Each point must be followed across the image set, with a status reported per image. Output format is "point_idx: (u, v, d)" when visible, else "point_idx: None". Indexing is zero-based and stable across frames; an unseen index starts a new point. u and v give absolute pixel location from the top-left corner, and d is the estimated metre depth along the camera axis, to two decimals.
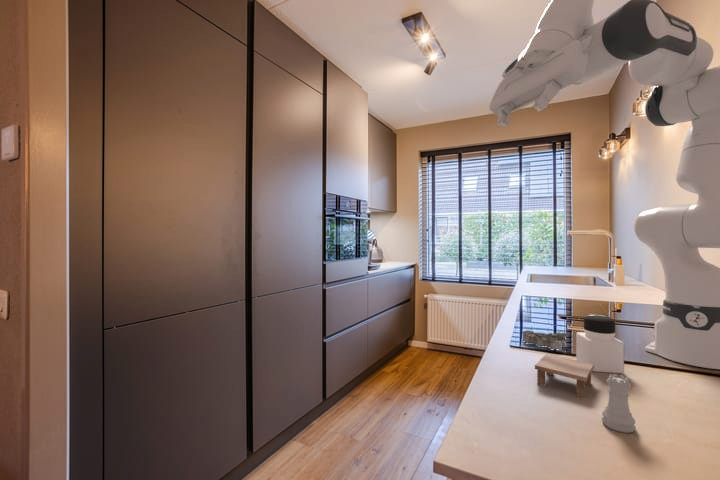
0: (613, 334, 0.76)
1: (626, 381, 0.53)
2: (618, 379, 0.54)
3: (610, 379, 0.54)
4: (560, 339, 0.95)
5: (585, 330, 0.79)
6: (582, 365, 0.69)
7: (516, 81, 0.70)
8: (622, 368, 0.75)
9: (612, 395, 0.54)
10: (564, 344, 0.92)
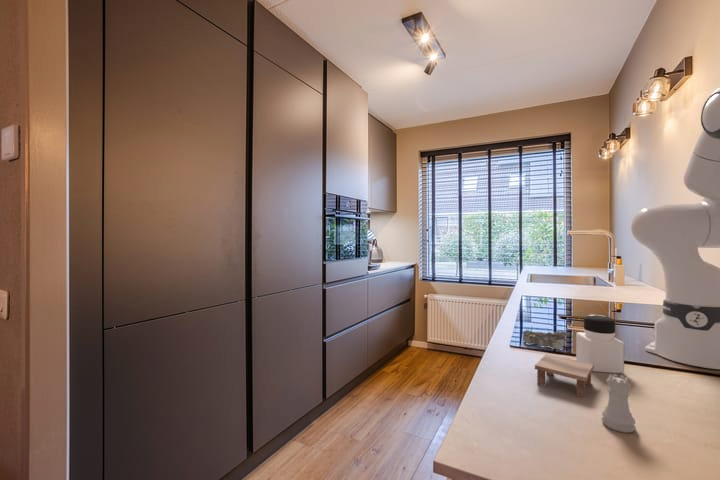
0: (613, 334, 0.76)
1: (626, 381, 0.53)
2: (618, 379, 0.54)
3: (610, 379, 0.54)
4: (559, 338, 0.96)
5: (585, 330, 0.79)
6: (582, 365, 0.69)
7: None
8: (622, 368, 0.75)
9: (612, 395, 0.54)
10: (564, 343, 0.93)
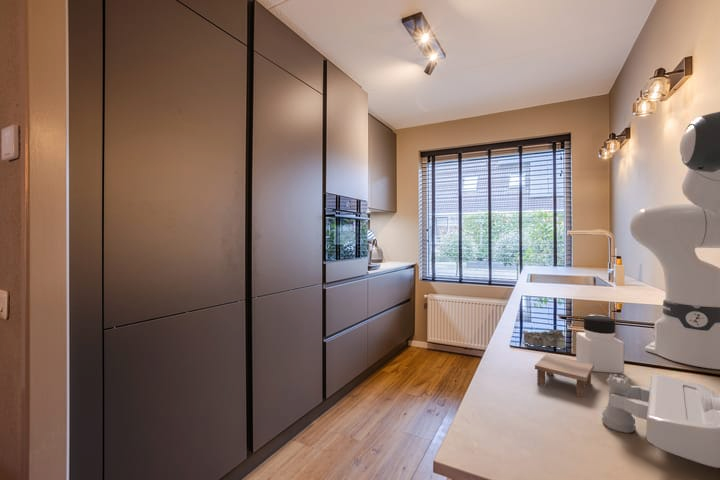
0: (613, 334, 0.76)
1: (626, 381, 0.53)
2: (618, 379, 0.54)
3: (610, 379, 0.54)
4: (554, 336, 0.98)
5: (585, 330, 0.79)
6: (582, 365, 0.69)
7: None
8: (622, 368, 0.75)
9: None
10: None
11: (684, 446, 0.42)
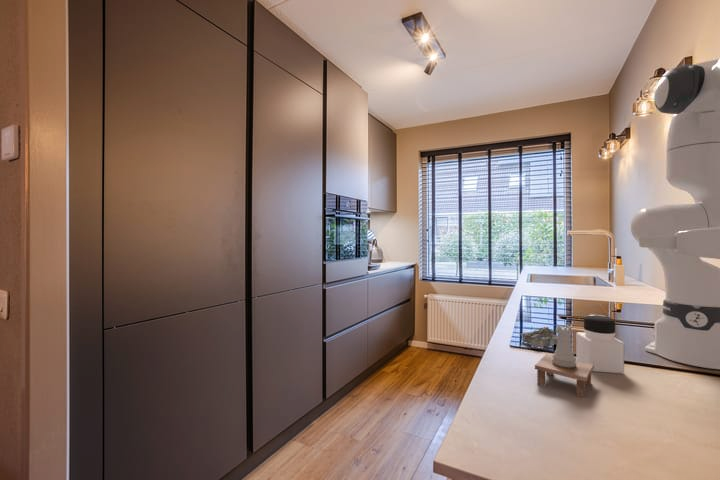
0: (613, 334, 0.76)
1: (569, 328, 0.69)
2: (563, 328, 0.70)
3: (557, 328, 0.70)
4: None
5: (585, 330, 0.79)
6: (582, 365, 0.69)
7: None
8: (622, 368, 0.75)
9: (558, 340, 0.70)
10: None
11: (711, 247, 0.49)
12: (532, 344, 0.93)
